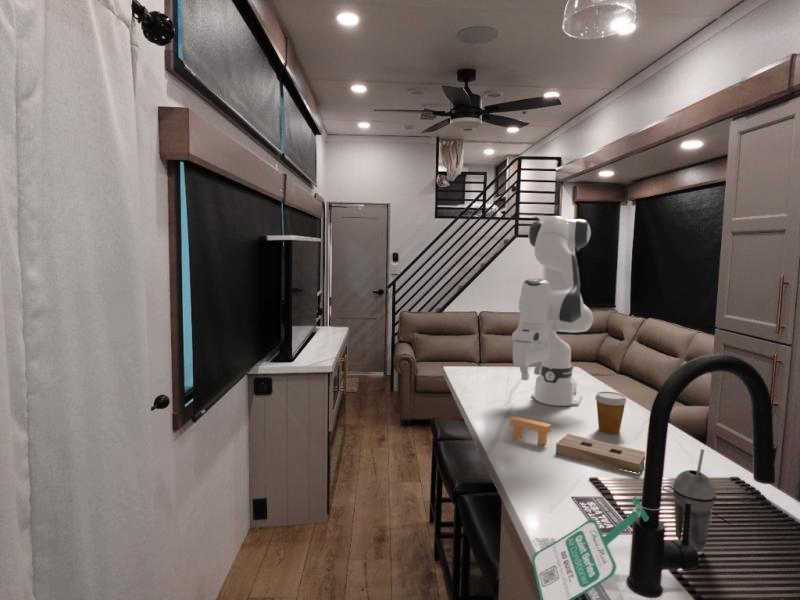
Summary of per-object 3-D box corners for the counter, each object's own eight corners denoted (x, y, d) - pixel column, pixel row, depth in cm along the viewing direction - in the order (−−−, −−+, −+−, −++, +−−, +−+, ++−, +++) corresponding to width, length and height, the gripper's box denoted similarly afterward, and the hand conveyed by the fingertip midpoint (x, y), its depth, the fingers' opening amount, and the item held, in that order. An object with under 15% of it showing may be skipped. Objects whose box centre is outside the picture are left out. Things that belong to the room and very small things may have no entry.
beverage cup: (660, 538, 98) (666, 442, 96) (694, 537, 98) (701, 442, 96) (684, 561, 90) (691, 457, 89) (721, 559, 91) (729, 457, 89)
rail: (567, 443, 148) (567, 433, 147) (646, 462, 134) (647, 452, 134) (555, 453, 140) (556, 443, 139) (638, 475, 126) (639, 464, 126)
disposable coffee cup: (625, 428, 161) (627, 393, 160) (623, 438, 153) (626, 400, 152) (595, 423, 165) (596, 389, 164) (591, 432, 157) (593, 396, 156)
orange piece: (513, 434, 154) (514, 416, 154) (550, 443, 147) (551, 424, 147) (509, 437, 152) (510, 418, 152) (546, 446, 145) (547, 427, 144)
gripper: (536, 328, 157) (535, 370, 158) (509, 334, 141) (507, 381, 142) (555, 330, 153) (553, 373, 154) (530, 337, 137) (528, 384, 138)
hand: (531, 377), depth 148 cm, fingers open, 8 cm apart
